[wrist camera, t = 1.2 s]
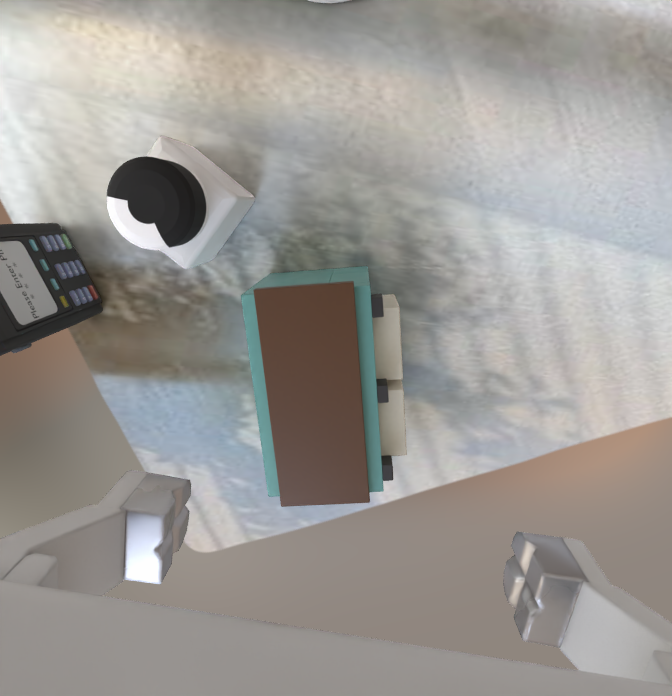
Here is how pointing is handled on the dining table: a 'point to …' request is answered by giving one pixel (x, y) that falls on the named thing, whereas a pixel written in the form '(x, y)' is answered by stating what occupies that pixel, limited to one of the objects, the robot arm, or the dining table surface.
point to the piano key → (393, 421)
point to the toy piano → (317, 385)
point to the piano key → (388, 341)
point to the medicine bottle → (176, 203)
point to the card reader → (40, 285)
